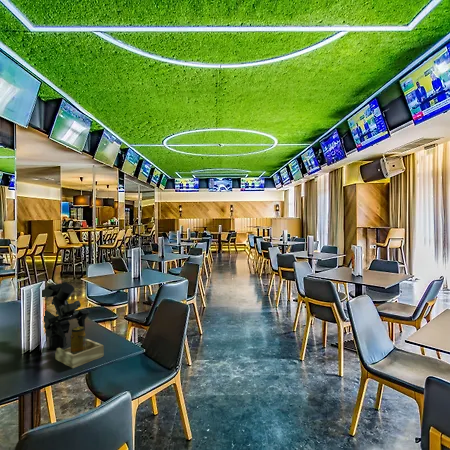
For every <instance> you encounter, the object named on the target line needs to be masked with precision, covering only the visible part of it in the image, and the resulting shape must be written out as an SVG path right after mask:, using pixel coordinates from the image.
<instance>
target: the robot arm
mask: <svg viewBox="0 0 450 450" xmlns="http://www.w3.org/2000/svg"><path fill="white" fill-rule="evenodd" d="M41 290H42V297H44V298H52V301H51V306H52V305H53V307H54V308H55V311H56V312H55V314H56V315H54V314H53V313H51V312H50V311H48V310H47V309H46V311H45V316H44V322H43V323H44V325H43V328H44V329H45V336H46V337H47V338H49V339H48V341H49V343H48V345H49V347H47V349H46V350H53V351H57V350H56V349H57V348H61V349H64V348H65V347H66V346H67V345H68V343H67V336H66V334H68V333H69V330H70V325H71V323H70V321H71V320H76V321H77V324H78V327H84V328H85V329H84V330H85V331H86V325H85V324H86V323H85V322H86V319H87V317H88V316H89V314H90V311H89V309H87V308H84V309H80V310H79V311H78V312H77V313H76V310H78V309H79V308H81V306H82V305H81V304H82V303H81V301H80V300H74V301H73V302H71V303H69V302H68V300H69V299H70V298H71V296H72V294H73V293H74V291H75V286H73V285H72V284H70V283H68V282H67V281H64V282H61V283H54V284H48V285H45V287H44V289H41Z"/></svg>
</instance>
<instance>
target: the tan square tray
mask: <svg viewBox="0 0 450 450" xmlns="http://www.w3.org/2000/svg"><path fill="white" fill-rule="evenodd" d="M104 346H105V345H103V344H101V343H99V342H96V341H94V340H91V339H88V338H86V350H85V351H83V352H80V353H77V354H72V353H71V346H69V347H67V348H65V349H64V348H62V349H61V348H57V349H56V350H55V352H54V353H55V354H54V357H55V360H56V361H58V362H59V363H62V364H64V365H65V366H68V367H69V368H71V369H74V368H78V367H80V366H83V365H84V364H88V363H90V362H92V361H95V360H98V359H101V358H102V357H104V355H105V353H104Z"/></svg>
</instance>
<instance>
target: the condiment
mask: <svg viewBox="0 0 450 450" xmlns="http://www.w3.org/2000/svg"><path fill="white" fill-rule="evenodd" d="M84 329H85V330H84ZM85 331H86V327H85V328H84V327H80V326H77V327H76V326H75V327H73V328H72V329H71V335H70V347H71V353H72V354H77V353H80V352H83V351H85V350H86V339H87V338H86V337H87V335H86V332H85Z"/></svg>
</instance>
